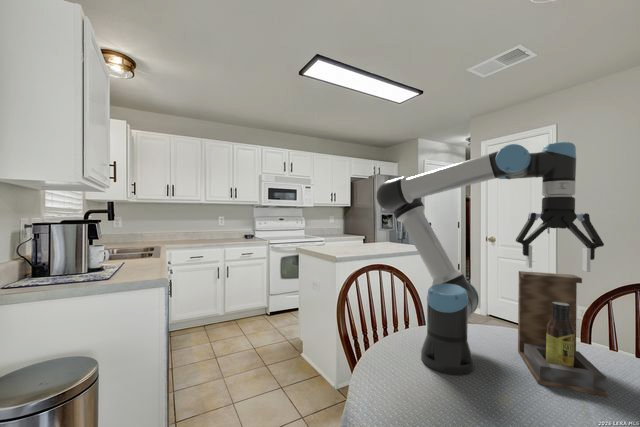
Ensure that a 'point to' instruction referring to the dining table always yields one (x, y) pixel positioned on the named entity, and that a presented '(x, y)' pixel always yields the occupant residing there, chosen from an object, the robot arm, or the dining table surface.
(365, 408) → the dining table surface
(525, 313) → the stand
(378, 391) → the dining table surface
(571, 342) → the sauce bottle
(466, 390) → the dining table surface
